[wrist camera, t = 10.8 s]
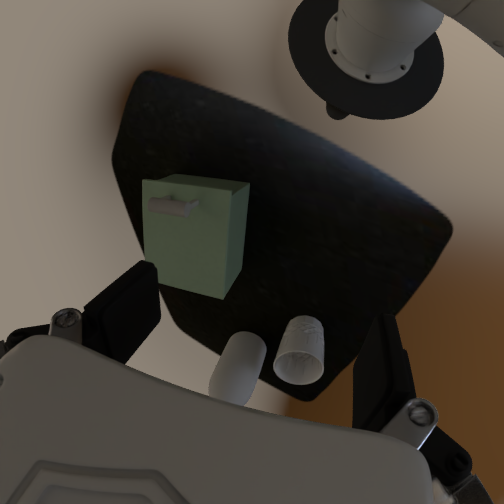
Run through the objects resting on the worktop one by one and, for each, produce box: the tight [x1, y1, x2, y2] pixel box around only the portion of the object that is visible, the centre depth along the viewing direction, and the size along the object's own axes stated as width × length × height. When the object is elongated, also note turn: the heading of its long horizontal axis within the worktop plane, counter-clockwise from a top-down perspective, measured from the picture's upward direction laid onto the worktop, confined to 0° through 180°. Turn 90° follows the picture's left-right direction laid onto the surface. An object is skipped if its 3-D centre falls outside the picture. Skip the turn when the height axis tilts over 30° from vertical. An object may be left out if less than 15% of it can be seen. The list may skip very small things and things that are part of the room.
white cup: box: [273, 315, 324, 385], centre depth 46 cm, size 8×8×10 cm
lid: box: [142, 179, 232, 299], centre depth 36 cm, size 15×13×5 cm
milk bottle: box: [209, 331, 266, 406], centre depth 46 cm, size 8×8×20 cm
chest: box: [158, 174, 250, 295], centre depth 43 cm, size 15×13×9 cm
